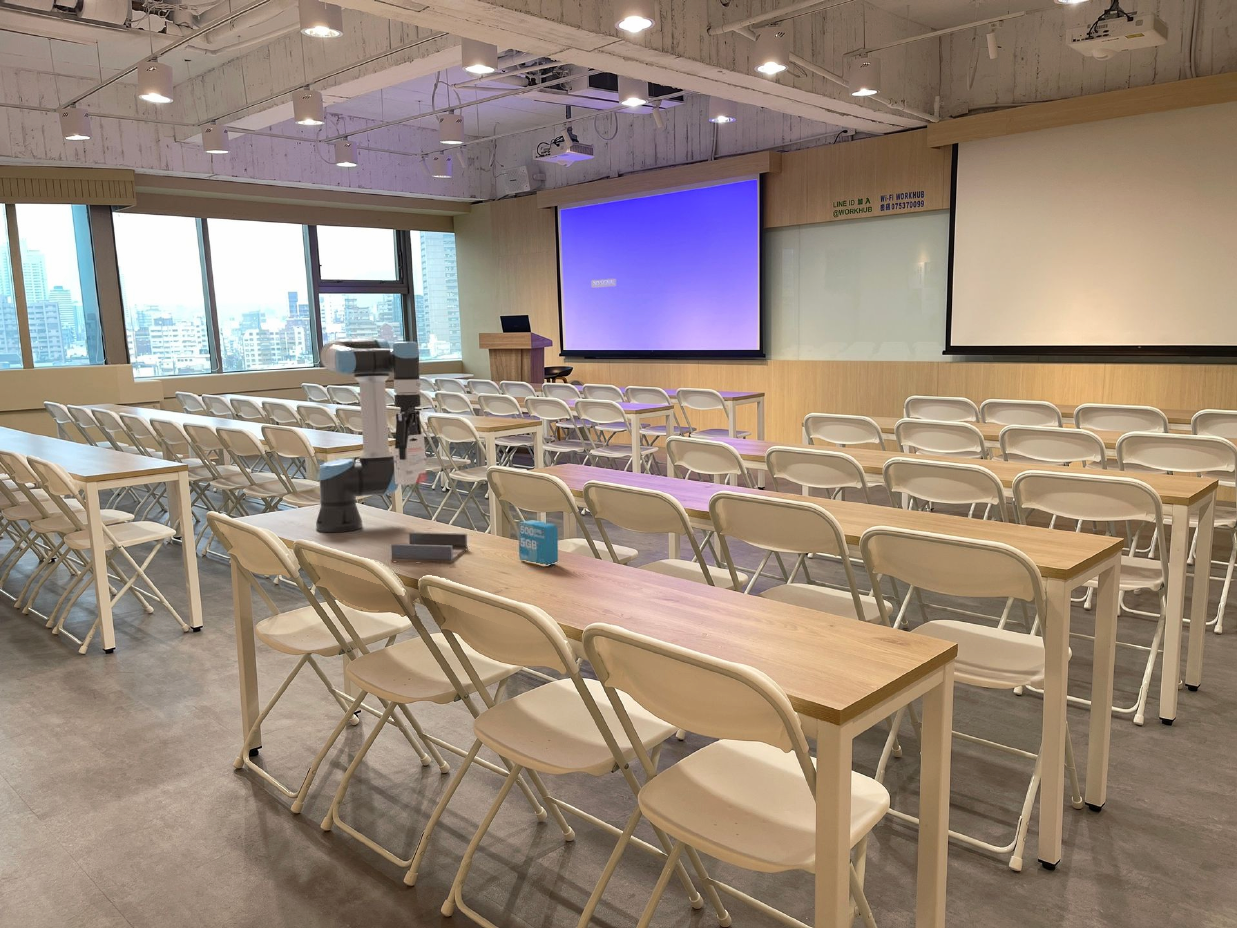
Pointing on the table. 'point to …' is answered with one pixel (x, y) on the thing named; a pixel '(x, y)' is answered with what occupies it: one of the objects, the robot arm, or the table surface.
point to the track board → (430, 548)
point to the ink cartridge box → (412, 462)
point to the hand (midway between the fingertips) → (410, 467)
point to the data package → (538, 542)
